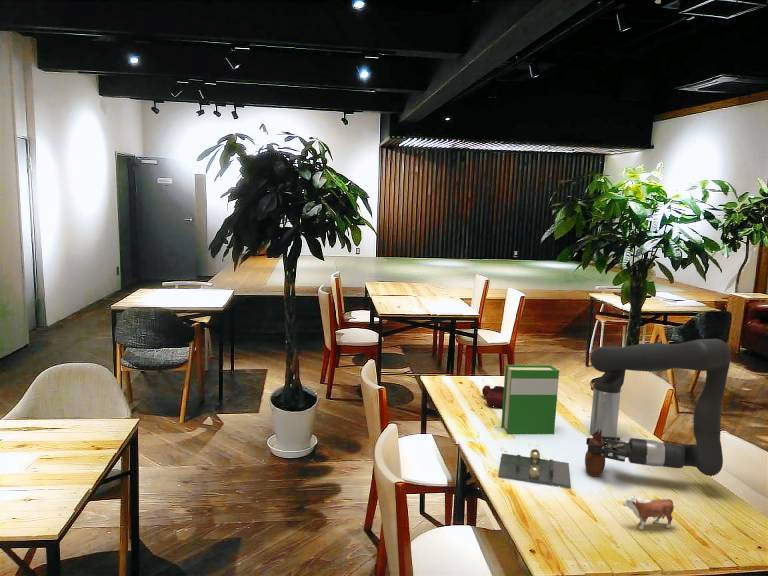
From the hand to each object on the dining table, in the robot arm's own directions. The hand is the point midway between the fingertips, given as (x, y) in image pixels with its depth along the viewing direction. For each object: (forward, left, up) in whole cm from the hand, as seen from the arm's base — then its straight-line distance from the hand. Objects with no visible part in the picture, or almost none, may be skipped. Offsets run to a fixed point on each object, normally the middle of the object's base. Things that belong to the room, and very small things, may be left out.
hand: (587, 444), depth 179 cm
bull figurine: (+28, +14, -9) cm, 33 cm away
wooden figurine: (0, +3, -9) cm, 10 cm away
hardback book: (-30, -18, -9) cm, 36 cm away
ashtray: (-59, -29, -10) cm, 67 cm away
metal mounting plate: (+5, -15, -9) cm, 19 cm away
